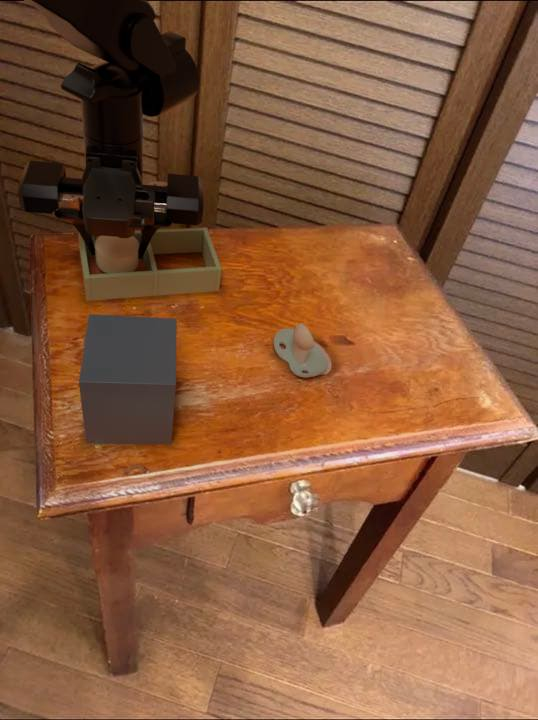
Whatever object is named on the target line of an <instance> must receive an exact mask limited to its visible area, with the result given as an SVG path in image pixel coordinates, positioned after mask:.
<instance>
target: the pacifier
mask: <svg viewBox="0 0 538 720" xmlns="http://www.w3.org/2000/svg"><path fill="white" fill-rule="evenodd" d="M281 345H283V346H284V347H285V348H282V347H281ZM273 349H274V351H275V353H276V355H277V356H278V357H279V358H280V359H281V360H282V361H284V362H286V363H287V364H288V367H289V370H290V372H291V373H292V374H294V375H295V376H296V377H300V378H313V377H316V376H320V375H321V376H324V375H327V374H328V373H330V372H331V369H332V365H333V364H332V360H331V357H330V355H329V354H328V352H327V351H326V350H325V348H324V347H322V345H320V344H319V343H318V342H317V341H316V340H314V337H313V335H312V332H311V331H310V329H308V327H307V326H306V325H305V324H303V323H301V322H300V323H297V324H296V325H295V327H294V328H289V327H287V328H282V329H279V330H278V331H277V332H276V334H275V335H274V338H273Z"/></svg>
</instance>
